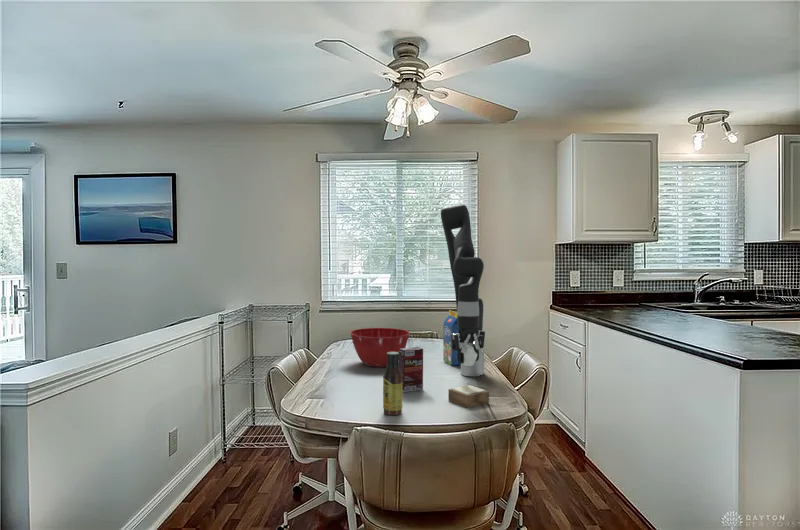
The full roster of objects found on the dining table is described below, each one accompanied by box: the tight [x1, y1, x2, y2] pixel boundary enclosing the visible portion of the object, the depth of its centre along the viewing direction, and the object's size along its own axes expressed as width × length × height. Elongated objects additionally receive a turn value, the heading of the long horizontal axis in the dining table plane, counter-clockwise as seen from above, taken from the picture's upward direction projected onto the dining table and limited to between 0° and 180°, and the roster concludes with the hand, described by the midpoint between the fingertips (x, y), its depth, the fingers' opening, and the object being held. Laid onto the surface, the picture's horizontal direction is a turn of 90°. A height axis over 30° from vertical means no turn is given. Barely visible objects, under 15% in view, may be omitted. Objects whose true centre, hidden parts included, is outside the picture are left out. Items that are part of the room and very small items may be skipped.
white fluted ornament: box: [463, 345, 477, 366], centre depth 173 cm, size 6×6×7 cm
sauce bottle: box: [382, 352, 403, 416], centre depth 161 cm, size 7×6×20 cm
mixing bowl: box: [349, 327, 411, 368], centre depth 235 cm, size 28×28×15 cm
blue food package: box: [442, 309, 461, 367], centre depth 237 cm, size 6×12×25 cm, turn 13°
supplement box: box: [399, 346, 424, 393], centre depth 189 cm, size 9×5×16 cm, turn 117°
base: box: [448, 384, 490, 408], centre depth 174 cm, size 10×10×4 cm
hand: (468, 361), depth 173 cm, fingers closed on white fluted ornament, 6 cm apart
